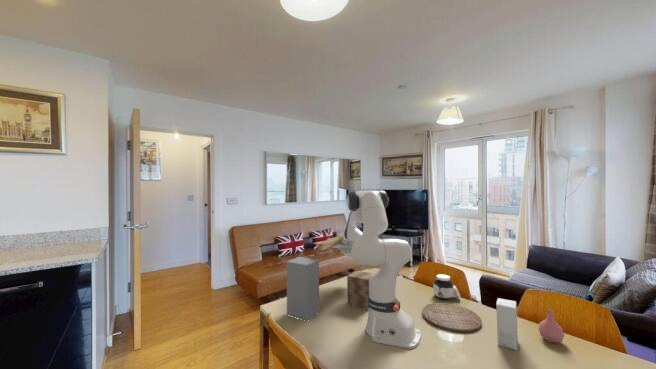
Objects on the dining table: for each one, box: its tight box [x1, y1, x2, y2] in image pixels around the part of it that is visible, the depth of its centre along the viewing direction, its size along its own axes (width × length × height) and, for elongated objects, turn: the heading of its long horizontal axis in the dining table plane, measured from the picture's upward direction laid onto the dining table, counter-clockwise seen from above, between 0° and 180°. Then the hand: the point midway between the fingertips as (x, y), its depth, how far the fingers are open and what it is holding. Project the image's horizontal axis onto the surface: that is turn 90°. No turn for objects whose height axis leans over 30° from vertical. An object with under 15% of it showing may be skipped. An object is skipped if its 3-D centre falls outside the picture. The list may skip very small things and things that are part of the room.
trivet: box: [421, 302, 483, 334], centre depth 121 cm, size 25×25×2 cm
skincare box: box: [495, 297, 519, 351], centre depth 102 cm, size 8×7×16 cm
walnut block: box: [346, 270, 374, 311], centre depth 137 cm, size 12×10×15 cm
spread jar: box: [432, 273, 461, 301], centre depth 143 cm, size 12×11×12 cm
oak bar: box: [316, 235, 345, 251], centre depth 141 cm, size 4×22×3 cm, turn 150°
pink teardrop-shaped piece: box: [538, 308, 565, 343], centre depth 102 cm, size 8×8×12 cm
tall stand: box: [286, 256, 320, 322], centre depth 126 cm, size 12×10×26 cm
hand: (337, 239), depth 148 cm, fingers closed on oak bar, 4 cm apart
